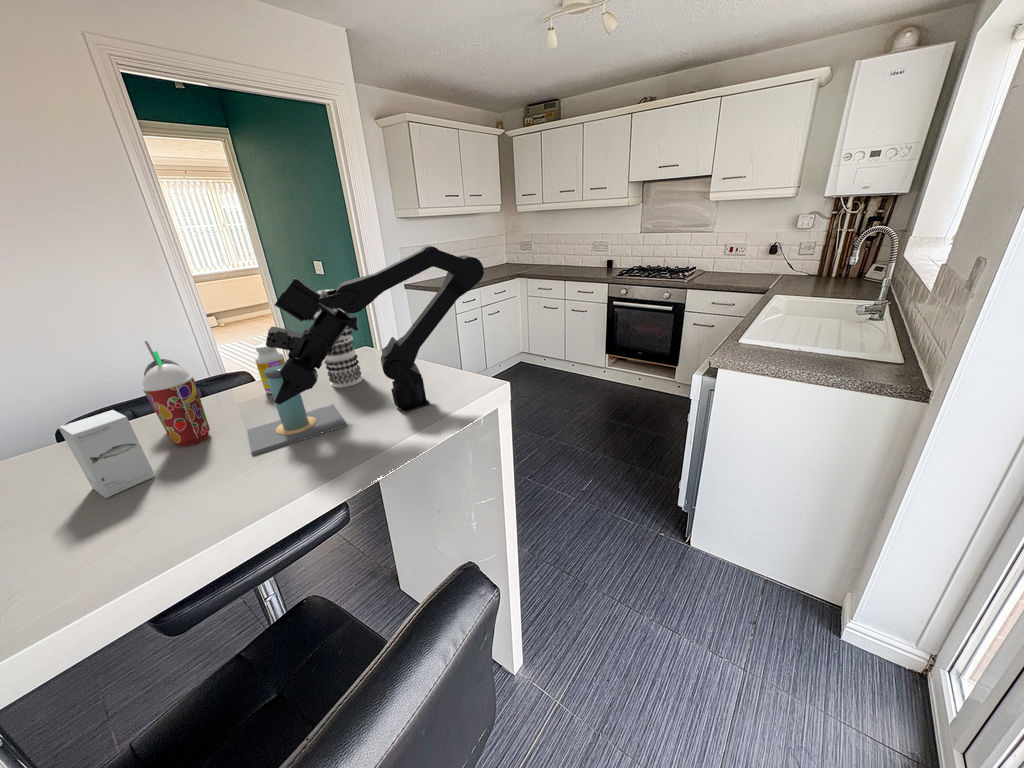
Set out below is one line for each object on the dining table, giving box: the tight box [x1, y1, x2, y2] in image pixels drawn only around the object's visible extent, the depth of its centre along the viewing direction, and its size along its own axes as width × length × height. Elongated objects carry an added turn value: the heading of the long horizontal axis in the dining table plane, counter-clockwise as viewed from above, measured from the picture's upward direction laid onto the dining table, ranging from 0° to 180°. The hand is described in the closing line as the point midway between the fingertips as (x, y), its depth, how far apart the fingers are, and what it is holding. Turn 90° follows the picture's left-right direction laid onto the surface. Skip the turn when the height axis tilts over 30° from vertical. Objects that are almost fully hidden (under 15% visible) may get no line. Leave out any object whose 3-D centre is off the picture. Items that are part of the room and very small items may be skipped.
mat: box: [246, 404, 348, 456], centre depth 89 cm, size 18×12×1 cm, turn 125°
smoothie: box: [141, 350, 211, 448], centre depth 84 cm, size 8×8×20 cm
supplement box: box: [58, 409, 156, 499], centre depth 72 cm, size 7×7×13 cm
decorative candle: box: [310, 288, 363, 388], centre depth 109 cm, size 9×9×25 cm
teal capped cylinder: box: [264, 364, 309, 431], centre depth 86 cm, size 5×5×13 cm
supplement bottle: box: [254, 342, 286, 395], centre depth 110 cm, size 7×7×13 cm
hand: (280, 394), depth 86 cm, fingers open, 9 cm apart
